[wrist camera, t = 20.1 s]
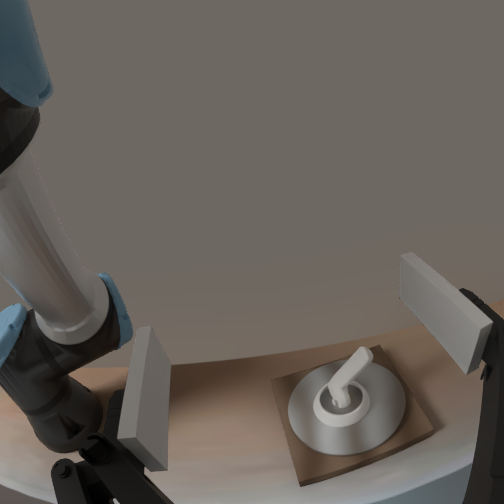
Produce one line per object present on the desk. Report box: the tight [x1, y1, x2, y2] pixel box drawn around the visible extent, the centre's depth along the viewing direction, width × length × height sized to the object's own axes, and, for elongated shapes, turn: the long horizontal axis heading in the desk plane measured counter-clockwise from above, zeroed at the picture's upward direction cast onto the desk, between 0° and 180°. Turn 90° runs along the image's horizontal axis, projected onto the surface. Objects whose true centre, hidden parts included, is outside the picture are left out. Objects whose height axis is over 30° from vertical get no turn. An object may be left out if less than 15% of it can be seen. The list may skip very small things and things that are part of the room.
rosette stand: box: [271, 345, 434, 487], centre depth 39 cm, size 18×18×3 cm
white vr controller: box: [313, 346, 373, 427], centre depth 37 cm, size 8×12×7 cm
